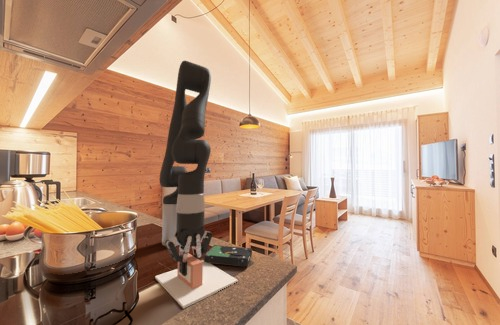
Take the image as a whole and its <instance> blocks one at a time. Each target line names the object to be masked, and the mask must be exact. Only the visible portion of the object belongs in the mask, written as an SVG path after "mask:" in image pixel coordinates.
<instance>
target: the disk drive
mask: <svg viewBox="0 0 500 325" xmlns="http://www.w3.org/2000/svg"><path fill="white" fill-rule="evenodd" d="M252 255H253V248H250V247H239V246H228V245H227V246H226V245H217V244H216V245H215V244H214V245H213V246H212V247H211V248H209V251H208V250H207V252H206V253H205V254H204V256H203V260H204V262H206V263H210V264H216V265H226V266H227V265H228V266H238V267H248V265H249V263H250V260H251V258H252Z"/></svg>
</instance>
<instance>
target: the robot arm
mask: <svg viewBox="0 0 500 325" xmlns="http://www.w3.org/2000/svg"><path fill="white" fill-rule="evenodd" d="M211 83H212V74H211V70H210V69H209V68H208V67H206V66H202V65H200V64H196V63H193V62H191V61H188V60H182V61H181V63H180V65H179V68H178V73H177V82H176V88H175V89H176V90H175V97H174V105H173V109H172V113H171V114H172V115H171V119H170V123H169V127H168V128H169V129H168V135H167V139H166V140H167V142H166V146H165V147H166V148H165V153H164V156H163V160H162V164H161V168H160V173H159V184H160V186H161V187H162V188H176V189H175V191H173V192H171V193H169V194H167V195H164V196H163V198H162V199H163V200H162V224H161V226H162V227H161V228H162V229H161V230H162V232H161V235H162V236H161V245H162V246H164V247H166V248H167V250H168V252H169V254H170V257H171V258H172V260H173V261H175V262H176V263H178V262H179V272H180V273H181V274H182V275H183V276H186V275H187V256H188V253H189V252H190V248H192V253H193V255H192V256H194V257H196V258H197V259H199V260H201V257H202V255H205V254H206V253H207V252H208V249H209V246H210V243H211V241H212V238H213V235H214V234H213V232H211V231H208V230H205V228H204V227H205V194H204V193H205V190H204V189H205V176H206V175H205V174H206V169H207V165H208V163H209V160H210V156H211V149H212V148H211V145H210V143H209V142H208V141H207V140H205V139H201V138H202V137H204V135H205V130H206V128H205V127H206V111H207V106H208V105H207V104H208V99H209V95H210V94H209V93H210V89H211V88H210V87H211ZM186 90H187V91H191V92H195V93H198V95H197V96H195V98H193V99H192V100H191V101H190V102H188V103H187V99H186ZM175 163H177V164H179V165H197V166H196V168H195V169H194V170H191V171H188V170H187V168H186V167H185V166H178V165H177V166H176V165H175ZM178 246H179V248H178V249H177V248H176V247H178ZM178 250H179V252H178ZM189 254H190V253H189Z"/></svg>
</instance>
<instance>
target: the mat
mask: <svg viewBox="0 0 500 325" xmlns="http://www.w3.org/2000/svg"><path fill="white" fill-rule="evenodd" d="M201 261H202V262H203V275H202V285H201V286H199V287H196V288H194V289H192V288H191V287H190V286H189V285H187V284H186V283H185V282H184V281H183V280H182V279H180V278H179V277H178V276H177V274H178V268H175V269H173V270H170V271H167V272H163V273H161V274H157V275H155V277H154V278H155V280H156V281H157V282H158V283H159V284H160V285H161V286H162V287H163V288H164V289H165V290H166V291H167V293H168V294H169V295H170V296H171V298H173V299H174V300H175V302H177V304H178V305H179V306H180V307H182V309H183V310H184V309H186V308H188V307H190V306H192V305H193V304H194V305H195V304H196V303H199V302H200V301H202V300H205V299H206V298H208V297H210V296H212V295H215V294H216V293H219V292H221V291H223V290H225V289H226V287H227V288H229V287H231V286H233V285H235V284H237V283H239V280H238V279H237V278H236V277H234V276H232V275H230V274H228V273H227V272H225V271H223V270H222V269H221V268H218V267H217V266H215V265H214V264H213V263H206V262H204V259H202V260H201ZM236 282H237V283H236ZM234 283H235V284H234ZM230 285H231V286H230ZM228 286H229V287H228ZM224 288H225V289H224ZM222 289H223V290H222ZM220 290H221V291H220ZM218 291H219V292H218Z"/></svg>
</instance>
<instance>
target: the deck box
mask: <svg viewBox="0 0 500 325" xmlns="http://www.w3.org/2000/svg"><path fill="white" fill-rule="evenodd" d="M177 269H178V274H177V276H178V277H179V278H180V279H182V280H183V281H184V282H185V283H186V284H187V285H189V286H190V287H191V288H192V289H194V288H196V287H199V286H201V285H202V275H203V262H202V260H201V259H200V260H199V259H197V258H196V257H194V255H192V254H191V253H188V256H187V275H186V276H183V275H182V274H181V273H180V272H179V262H177Z"/></svg>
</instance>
